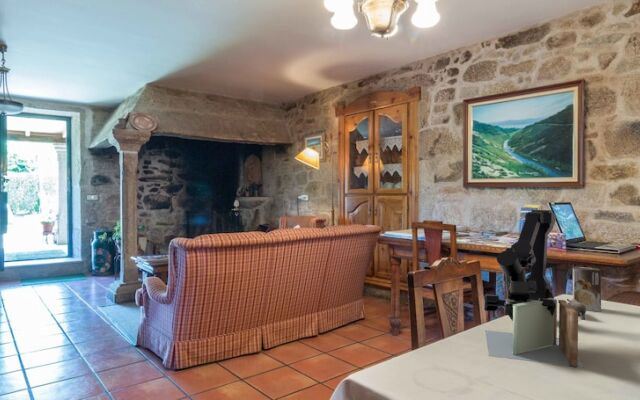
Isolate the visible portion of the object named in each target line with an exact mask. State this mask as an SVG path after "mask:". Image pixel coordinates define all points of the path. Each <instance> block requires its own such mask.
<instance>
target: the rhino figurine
mask: <svg viewBox="0 0 640 400" xmlns="http://www.w3.org/2000/svg"><path fill="white" fill-rule="evenodd" d="M566 302H567V303H568V304H569V305H570V306H571V307H572V308H573V309H574V310H575V311H576V312H578V317H581V321H587V319H586V314H587V310H586V307H585V306H584V305H583V304H581V303H580V302H578V301H577V300H576V299H573V298H572V299H571V300H570V299H569V298H567V299H566Z"/></svg>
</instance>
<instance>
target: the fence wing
mask: <svg viewBox="0 0 640 400" xmlns="http://www.w3.org/2000/svg"><path fill="white" fill-rule="evenodd" d="M547 299H553V298H547ZM553 300H554V301H555V306H556V308H555V311H554V314H553V316H552V315H551V311H550V310H548V309H546V308H547V307H548V306H543V305H542V303H543V301H540V300H536V301H530V302H525V303H519V304H513V321H512V333H513V354H515V355H518V353H521V352H525V351H529V350H532V349H536V348H540V347H544V346H548V345H551V344H556V343H557V338H558V337H557V331H558V329H557V326H558V325H557V322H558V321H557V320H558V319H557V316H558V315H557V314H558V300H557V299H556V298H554V299H553Z"/></svg>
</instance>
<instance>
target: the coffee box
mask: <svg viewBox="0 0 640 400" xmlns="http://www.w3.org/2000/svg"><path fill="white" fill-rule="evenodd" d="M572 299H576V300H577V301H578V302H580V303H581V304H583V305H584V306H585V307H586V311H591V312H598V313H600V312H602V271H601V269H600V268H597V267H596V268H595V267H584V266H572Z"/></svg>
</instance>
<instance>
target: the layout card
mask: <svg viewBox="0 0 640 400" xmlns="http://www.w3.org/2000/svg"><path fill="white" fill-rule="evenodd" d="M484 333H485V340H486V344H487V345H486V347H487V351H488V352H487V353H488V357H495V358H502V359H510V360H520V361H526V362H533V363H535V362H536V363H541V364H549V365H551V364H552V365H557V366H558V365H559V366H566V367H571V366H570V365H569V362H568V360H567V359H566V357H565V355H564V354H563V352H562V351H561V349H560V347H559V337H557V343H556V344H551V345H548V346H544V347H540V348H536V349H532V350H529V351H525V352H521V353H518V355H515V354H513V332H507V331H497V330H487V329H485V330H484ZM577 368H581V369H583V368H584V366H583V365H582V363H581V362H580V360H579V359H578V367H577ZM584 369H585V368H584Z"/></svg>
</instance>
